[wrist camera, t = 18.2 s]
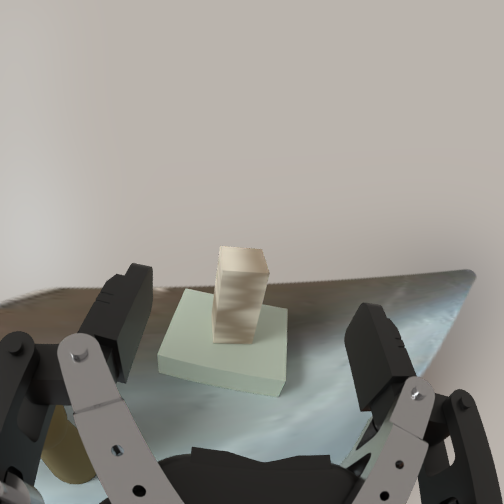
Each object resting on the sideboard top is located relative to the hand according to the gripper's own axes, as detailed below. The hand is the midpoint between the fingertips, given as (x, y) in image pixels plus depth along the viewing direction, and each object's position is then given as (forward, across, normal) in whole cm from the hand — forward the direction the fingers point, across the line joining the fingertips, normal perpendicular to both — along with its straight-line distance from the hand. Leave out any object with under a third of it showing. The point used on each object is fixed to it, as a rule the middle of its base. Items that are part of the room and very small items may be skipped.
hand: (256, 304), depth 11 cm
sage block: (+16, -1, +24) cm, 29 cm away
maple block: (+17, -1, +19) cm, 26 cm away
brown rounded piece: (-2, +13, +23) cm, 27 cm away
